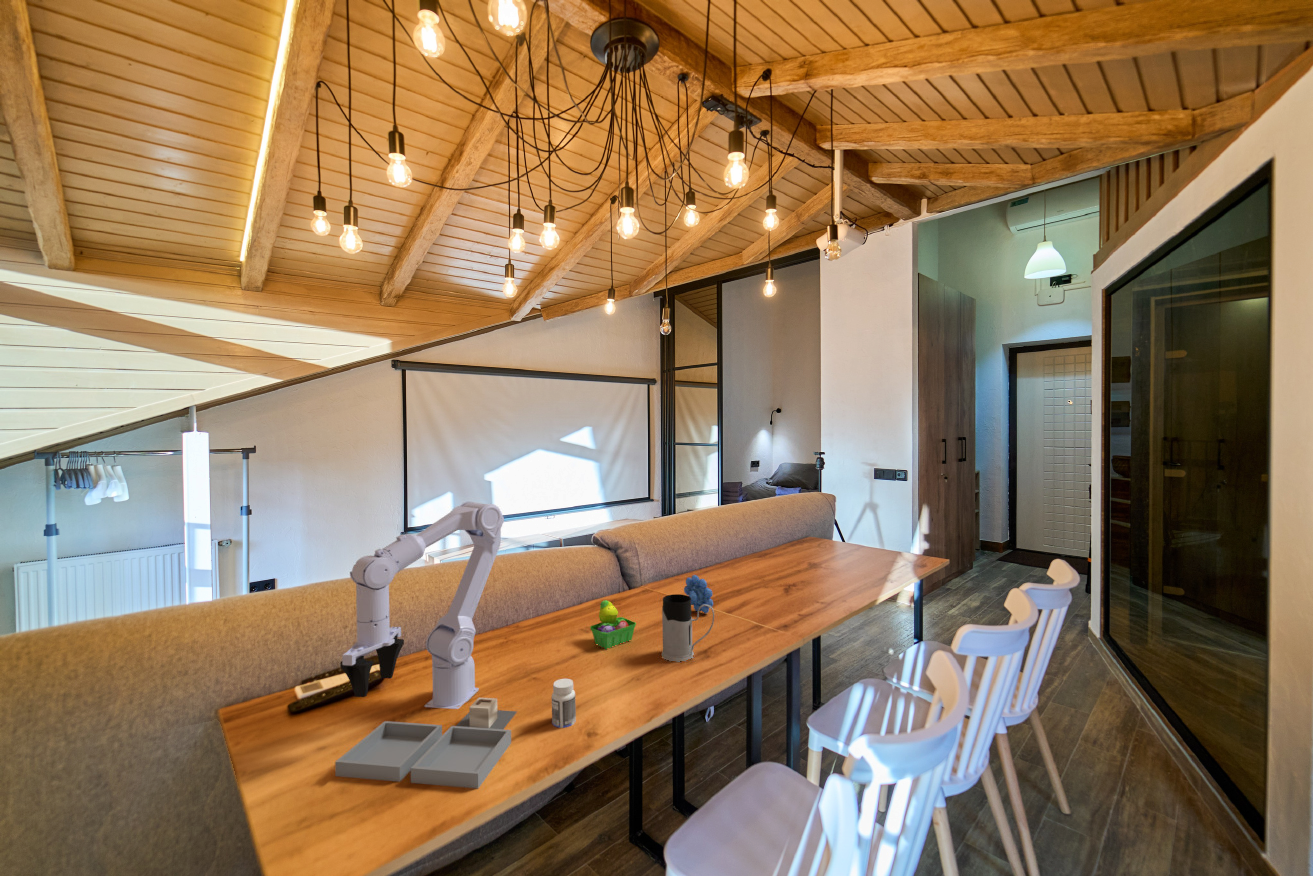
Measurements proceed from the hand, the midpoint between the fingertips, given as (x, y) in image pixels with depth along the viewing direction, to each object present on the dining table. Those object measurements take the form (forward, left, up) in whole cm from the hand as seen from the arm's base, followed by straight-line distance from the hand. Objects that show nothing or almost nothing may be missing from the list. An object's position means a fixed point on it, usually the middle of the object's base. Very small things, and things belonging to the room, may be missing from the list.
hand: (374, 686), depth 104 cm
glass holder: (-44, +58, -10) cm, 73 cm away
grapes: (-78, +58, -10) cm, 98 cm away
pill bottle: (-8, +36, -10) cm, 38 cm away
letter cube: (-6, +20, -9) cm, 23 cm away
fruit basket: (-51, +36, -10) cm, 63 cm away
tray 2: (+7, +22, -9) cm, 25 cm away
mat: (-6, +20, -9) cm, 23 cm away
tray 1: (+7, +8, -9) cm, 14 cm away
